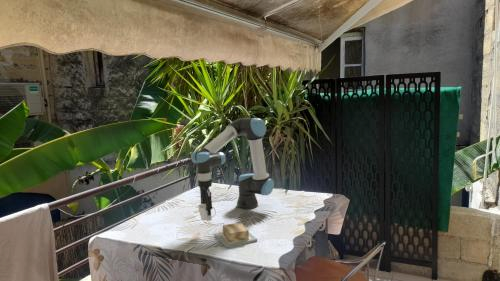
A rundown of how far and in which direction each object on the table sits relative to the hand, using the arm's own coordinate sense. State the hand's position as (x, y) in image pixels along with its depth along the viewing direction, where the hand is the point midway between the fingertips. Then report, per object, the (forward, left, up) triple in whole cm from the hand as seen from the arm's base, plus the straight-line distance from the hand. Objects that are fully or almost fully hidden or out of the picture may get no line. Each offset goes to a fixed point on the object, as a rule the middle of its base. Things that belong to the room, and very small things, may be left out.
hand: (207, 218), depth 202 cm
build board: (-11, +14, -9) cm, 21 cm away
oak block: (-11, +14, -8) cm, 20 cm away
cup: (0, 0, 0) cm, 0 cm away
